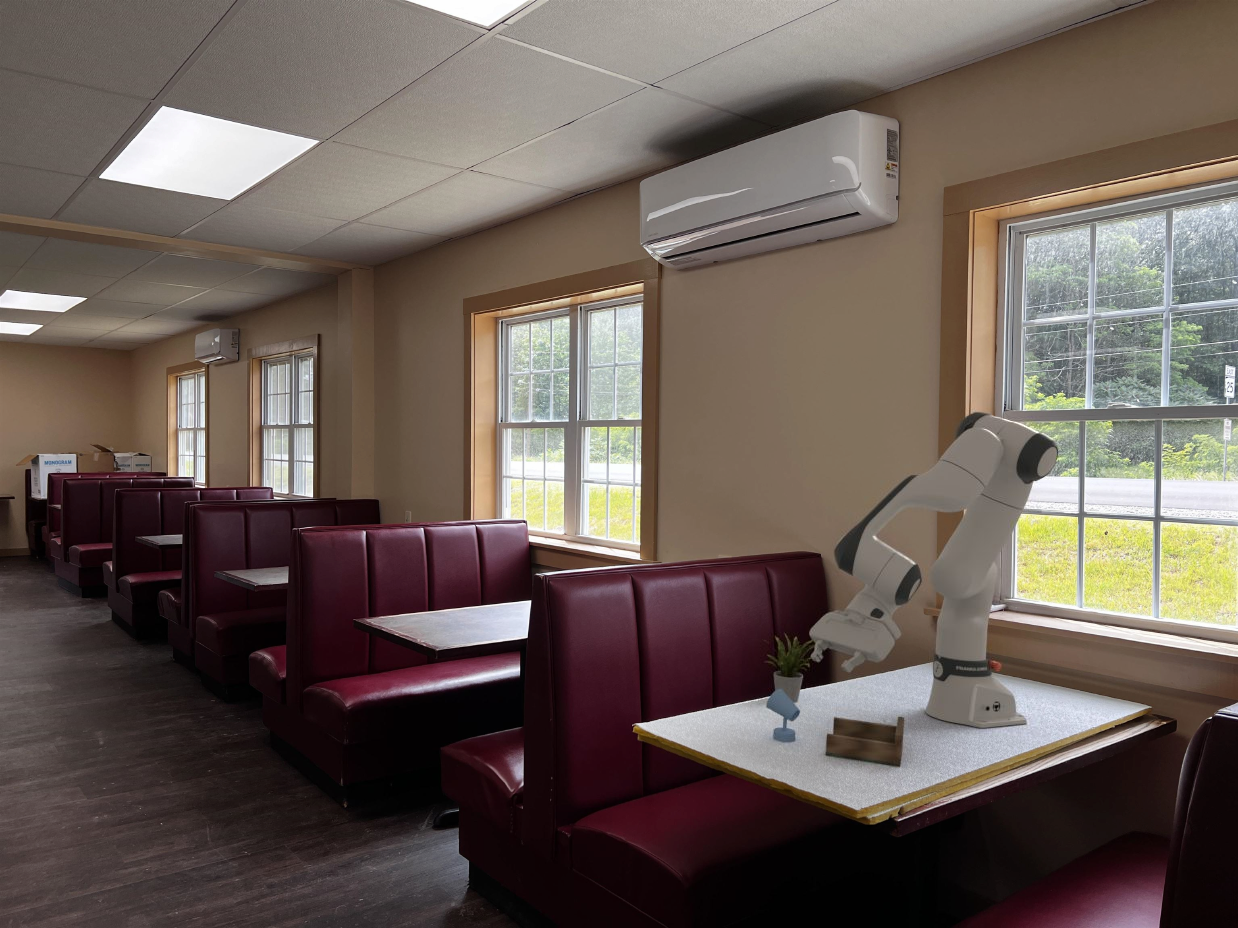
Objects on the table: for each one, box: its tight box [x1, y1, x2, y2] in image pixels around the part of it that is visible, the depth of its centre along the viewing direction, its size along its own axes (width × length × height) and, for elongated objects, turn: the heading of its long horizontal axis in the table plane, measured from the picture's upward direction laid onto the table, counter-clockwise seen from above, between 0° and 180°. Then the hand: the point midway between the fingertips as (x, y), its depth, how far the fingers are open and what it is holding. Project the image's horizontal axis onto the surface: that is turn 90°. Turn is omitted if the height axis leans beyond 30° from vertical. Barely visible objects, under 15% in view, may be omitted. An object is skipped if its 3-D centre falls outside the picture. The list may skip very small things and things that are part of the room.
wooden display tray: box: [825, 716, 905, 768], centre depth 176 cm, size 14×14×6 cm
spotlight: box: [765, 689, 801, 743], centre depth 182 cm, size 5×10×7 cm
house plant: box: [763, 632, 815, 704], centre depth 212 cm, size 14×14×16 cm
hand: (829, 664), depth 187 cm, fingers open, 8 cm apart
